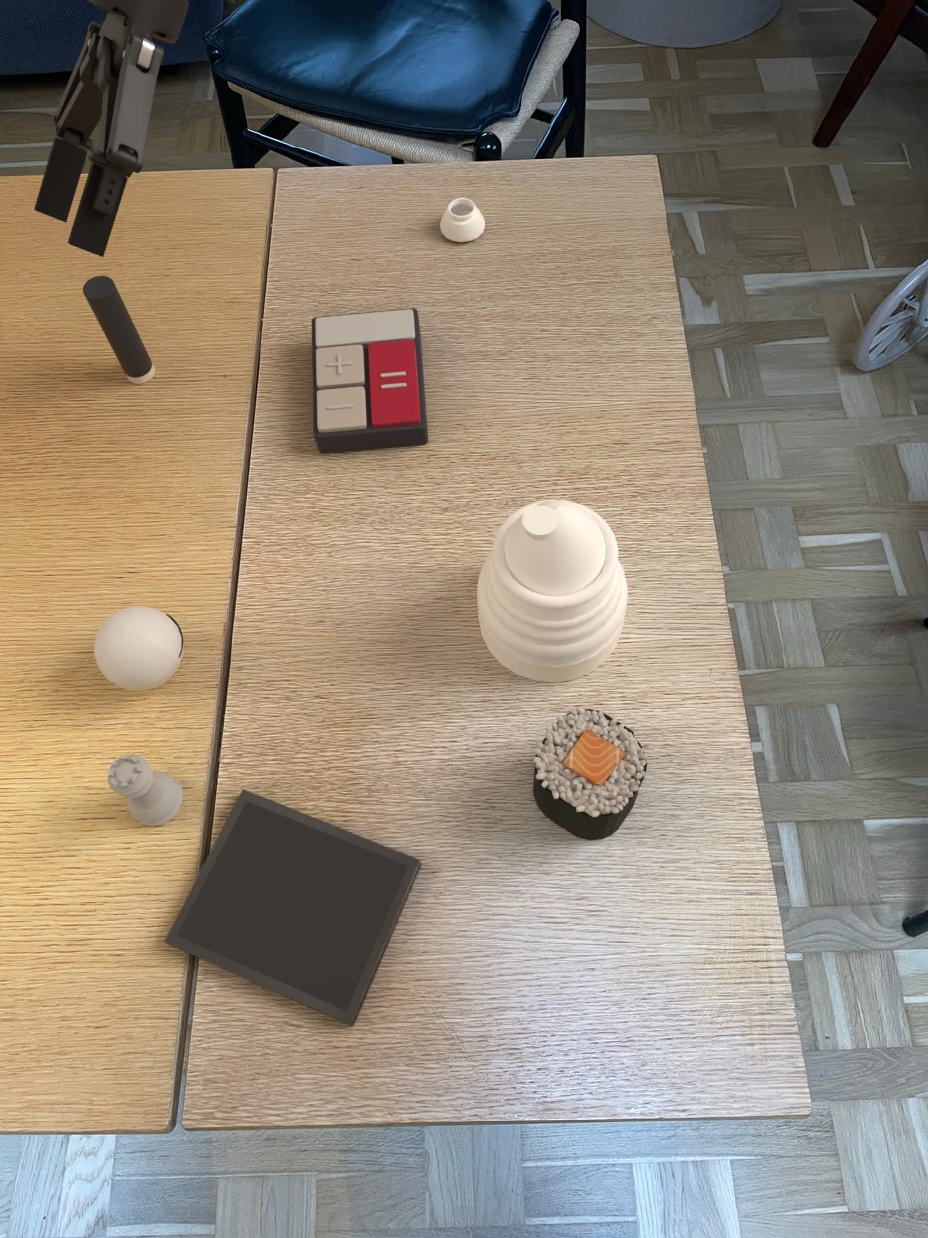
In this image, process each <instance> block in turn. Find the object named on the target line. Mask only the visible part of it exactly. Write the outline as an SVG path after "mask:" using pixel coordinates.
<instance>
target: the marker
mask: <svg viewBox="0 0 928 1238" xmlns="http://www.w3.org/2000/svg"><path fill="white" fill-rule="evenodd" d="M82 293H83V296H84V297H85V299H86V301H87V303H88V305H89V308H90V309H91V311H92V313H93V315H94V316H95V319H96V320H97V322H98V324H99V326H100V328H101V331H102V332H103V334H104V336H105V338H106V340H107V342H108V344H109V346H110V347H111V349H112V351H113V353H114V355H115V357H116V359H117V361H118V362H119V365H120V367H121V369H122V370H123V372H124V375H125V376H126V378H127V380H128V381H129V382H130V383H132V384H135V385H141V384H143V385H144V384H145V383H148V382H150V381H151V380H152V379H153V378H154V376H155V374H156V367H155V365H154V363H153V361H152V359H151V357H150V355H149V352H148V351H147V349H146V346H145V344H144V343H143V340H142V338H141V336H140V334H139V331H138V329H137V328H136V326H135V323H134V322H133V319H132V317H131V315H130V313H129V311H128V309H127V306H126V304H125V301H124V300H123V298H122V296H121V294H120V292H119V290H118V287H117V286H116V283H115V282H114V280H113V279H112V278H111V277H109V276H107V275H95V276H93V277H91V278H89V279H88V280H87V281H86V282H84V284H83V287H82Z"/></svg>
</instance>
